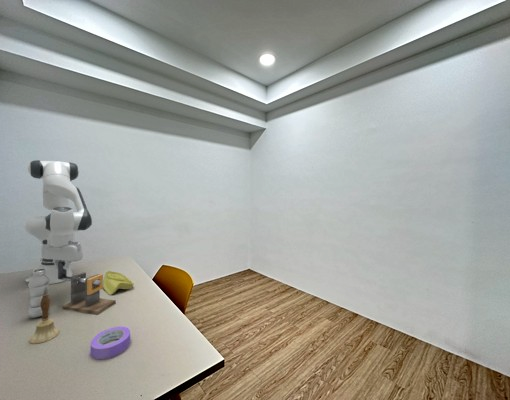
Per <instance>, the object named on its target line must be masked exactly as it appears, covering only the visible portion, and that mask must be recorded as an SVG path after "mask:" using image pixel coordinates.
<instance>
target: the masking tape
mask: <svg viewBox="0 0 510 400" xmlns="http://www.w3.org/2000/svg"><path fill="white" fill-rule="evenodd" d="M114 340H116V341H114ZM110 341H113V342H111V343H107V342H110ZM105 343H106V344H105ZM130 344H131V329H130V328H129V327H126V326H114V327H110V328H107V329H105V330H103V331H101V332H99V333H98V334H96V335H95V336H94V337H93V338H92V340H91V341H90V356H91V357H92V358H93V359H97V360H105V359H109V358H112V357H115V356H117V355H119V354H121V353H123V352H124V351H125V350H126V349H127V348H128V347H129V346H130Z"/></svg>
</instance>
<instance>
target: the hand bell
mask: <svg viewBox="0 0 510 400" xmlns="http://www.w3.org/2000/svg"><path fill="white" fill-rule="evenodd" d="M40 306H41V310H42V316H41V321H39V322H38V323H37V324H36V329H35V332H34V334H33V335H31V337H30V338H29V339H28V343H29V344H32V345H33V344H34V345H35V344H36V345H37V344H42V343H45V342H48V341H50V340H53V339H54V338H56V337H57V336H58V335H59V334H60V332H61V330H60V329H59V328H58V327H56V326H55V324H54V323H55V322H54V319H51V318H49V312H48V309H49V306H50V307H51V299H50V297H49V293H48V294H44V295H43V297H42V299H41V303H40Z"/></svg>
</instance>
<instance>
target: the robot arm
mask: <svg viewBox="0 0 510 400" xmlns="http://www.w3.org/2000/svg"><path fill="white" fill-rule="evenodd" d="M27 170H28V173H29V175H30V176H31V177H32V178H35V179H37V180H38V179H39V180H40V179H42V182H43V184H42V204H43V205H42V206H43V207H44V208H45V209H47V210H50V211H51V213H49V214H48V215H42V216H35V217H31V218H29V219H28V220H27V221H26V223H25V226H24V228H25V231H26V232H27V233H28V234H29V235H31V236H32V237H35V238H36V239H38V240H39V241H40V243H41V250H40V251H41V257H42V258H41V259H40V265H38V266H36V267H35V268H34V269H33V270H32V271H31V276H30V277H27V278H26V279H25V281H26V283H28V282H30V280H31V279H32V278H33V277H34V276H33V271H34V270H38V269H45V272H46V274H45V275H46V276H47V277H48V278H49V280H50V283H49V285H53V284H57V283H62V282H66V281H65V280H60V279H58V262H59V261H65V263H66V264H65V266H63V269H65V270H67V276H69V277H72V276H74V272H72V265H71V264H72V263H73V262H75V263H76V262H80V261H82V260H83V257H84V256H83V254H84V253H83V248H82V244H81V243H80V242H79V241H75V232H79V231H86V230H87V229H89V228H90V227H91V226H92V224H93V218H92V215H91V213H90V211H89V210H88V208H87V205H86V202H85V199H84V197H83V194H82V192H81V191H80V188H79V187H77V186H75V185H74V184H73V183H72V181H73V180H76V179H77V178H78V177H79V175H80V169H79V167H78V164H77V163H74V162H70V161H69V162H66V161H58V160H38V159H36V160H31V161H30V163H29V164H28V167H27ZM69 200H70V201H72V202H73V204H74V207H75V209H76V211H75V212H74V210H73V208H71V207H70V205H69ZM25 281H24V282H25Z"/></svg>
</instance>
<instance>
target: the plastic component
mask: <svg viewBox="0 0 510 400" xmlns="http://www.w3.org/2000/svg"><path fill="white" fill-rule="evenodd" d="M134 285H135V283H134V282H133V281H132V280H131V279H129V278H128V277H127V276H126V275H124V274H122V273H120V272H118V271H117V272H116V271H112V270H107V271H106V272H105V275H104V276H103V289H104V291H106V293H107V294H108V295H113V294H115V293H116V292H117V291H118V290H121V289H122V290H131V289H132V288H133V287H134Z"/></svg>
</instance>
